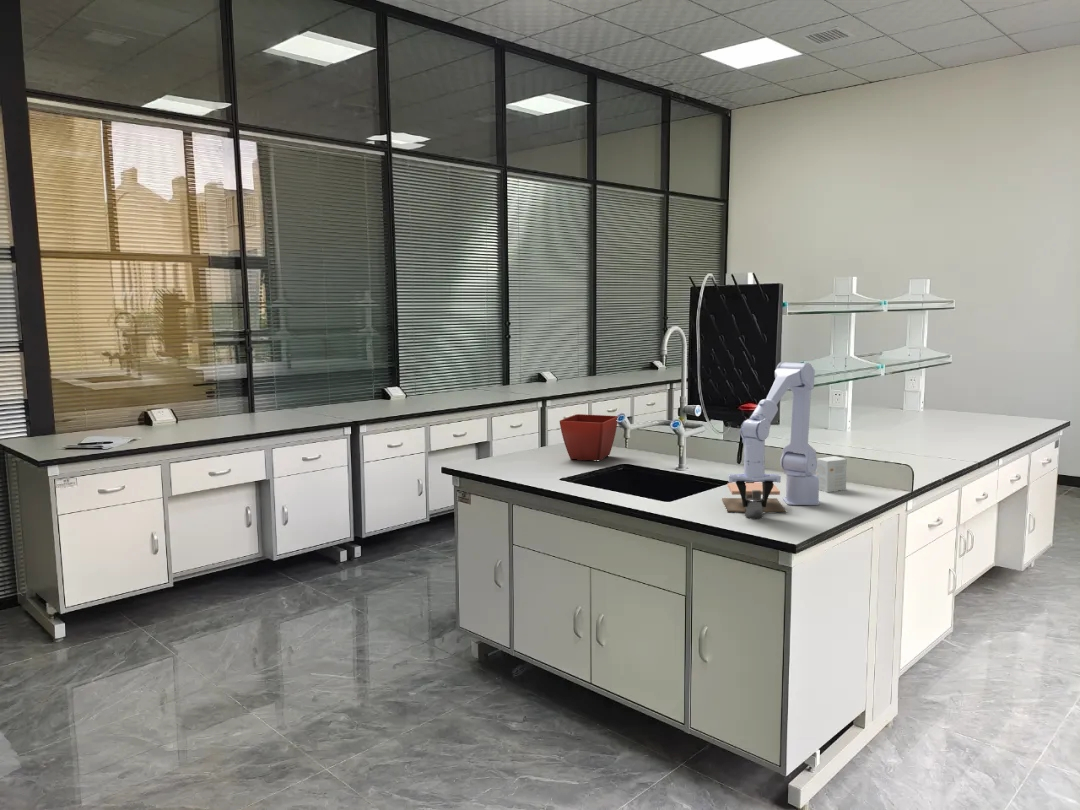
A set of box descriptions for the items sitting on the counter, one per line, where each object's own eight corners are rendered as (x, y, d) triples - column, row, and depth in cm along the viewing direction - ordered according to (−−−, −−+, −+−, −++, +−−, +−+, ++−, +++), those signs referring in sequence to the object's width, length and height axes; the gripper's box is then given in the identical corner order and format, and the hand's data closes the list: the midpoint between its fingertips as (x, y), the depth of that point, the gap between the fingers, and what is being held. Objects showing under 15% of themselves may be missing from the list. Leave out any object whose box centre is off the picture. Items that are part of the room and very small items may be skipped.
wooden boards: (776, 500, 243) (777, 480, 242) (786, 512, 228) (786, 491, 227) (721, 499, 245) (722, 480, 244) (727, 512, 230) (727, 491, 229)
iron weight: (761, 514, 227) (761, 498, 226) (764, 519, 222) (764, 502, 221) (744, 514, 227) (744, 497, 227) (746, 518, 222) (746, 502, 222)
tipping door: (773, 485, 240) (773, 482, 240) (780, 494, 229) (780, 491, 229) (727, 485, 242) (727, 482, 242) (732, 494, 231) (732, 491, 231)
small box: (834, 486, 258) (835, 455, 257) (846, 490, 253) (847, 458, 252) (815, 489, 256) (815, 458, 254) (827, 492, 250) (827, 461, 249)
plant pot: (603, 464, 305) (602, 422, 303) (559, 461, 313) (558, 420, 311) (619, 455, 322) (619, 415, 320) (577, 452, 330) (576, 414, 328)
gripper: (730, 463, 219) (730, 509, 221) (782, 463, 218) (782, 509, 219) (727, 458, 226) (727, 503, 228) (778, 458, 225) (777, 503, 226)
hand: (754, 506), depth 224 cm, fingers closed on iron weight, 5 cm apart
